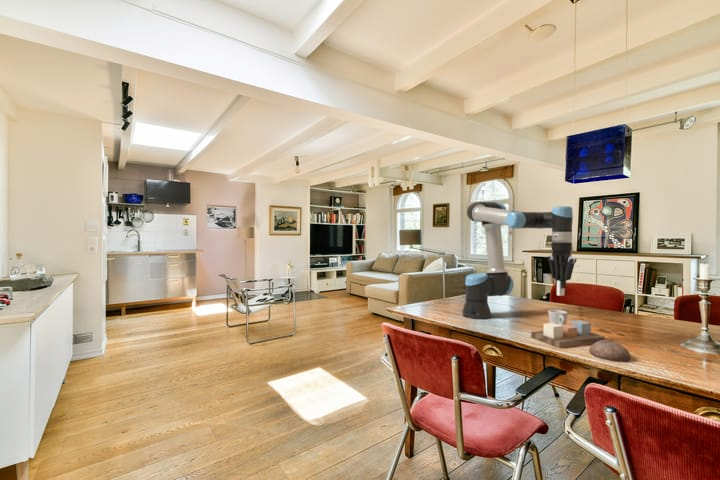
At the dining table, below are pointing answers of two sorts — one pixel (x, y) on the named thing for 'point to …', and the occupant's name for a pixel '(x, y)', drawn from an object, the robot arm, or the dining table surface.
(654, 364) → the dining table surface
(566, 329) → the block terracotta
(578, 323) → the block slate
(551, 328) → the block cream
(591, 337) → the walnut board
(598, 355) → the decorative stone
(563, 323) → the cup
